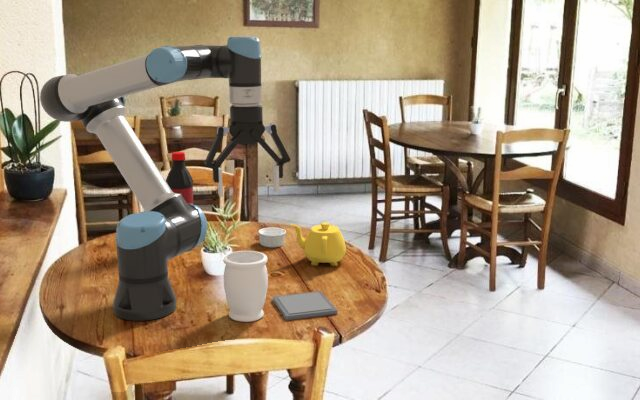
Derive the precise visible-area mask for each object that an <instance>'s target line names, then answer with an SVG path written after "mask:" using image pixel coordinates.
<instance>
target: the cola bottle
mask: <svg viewBox="0 0 640 400" xmlns="http://www.w3.org/2000/svg"><path fill="white" fill-rule="evenodd" d="M171 161H172V165H171V167H170V170H169V171H168V173H167V176H166V178H165V181H166V182H167V184H168V186H169V187H170V189H171V190H172V192H174V193H178V194H181V195H182V197H183V198H184V200H185V201H186V203H187V204H189V203H190V204H193V205H194V180H193V177H192V174H191V173H190V172H189V169H188V168H187V167H186V163H185V161H186V153H185V152H184V151H173V152H172V153H171Z"/></svg>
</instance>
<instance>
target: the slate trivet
mask: <svg viewBox="0 0 640 400" xmlns="http://www.w3.org/2000/svg"><path fill="white" fill-rule="evenodd" d="M272 301H273V303H274V304H275V306H276V307H277V308H278V310H279V312H280V313H281V315H282V316H283V318H284V320H285V321H291V320H300V319H301V320H302V319H308V318H317V317H324V316H331V315H333V316H334V315H338V309H337V308H336V307H335V306H334V304H333V303H332V302H331V301H330V300H329V298H327V296H326V295H325V294H324V293H323V292H322V291H321V290H319V291H310V292H300V293H291V294H284V295H275V296H272Z"/></svg>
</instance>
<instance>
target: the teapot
mask: <svg viewBox="0 0 640 400" xmlns="http://www.w3.org/2000/svg"><path fill="white" fill-rule="evenodd" d="M290 225H291V226H292V227H293V228H294V229H295V231H296V232H295V233H296V240H297V244H298V246H299V248H300V249H302V250H303V253H304V255H305V257H306V258H307V259H308V261H310V262H311V263H310V265H311V266H318V265H319V264H320V263H325V264H326V263H329V265H330V266H332V267H337V266H339V263H338V262H340V261H341V260H342V259H343V258H344V257H345V254H346V252H347V251H346V250H347V247H346V246H347V245H346V242H345V239H344V236H343V234H342V232H341V230H340V228H339V226H337V225H333V224H332V225H331V224H330V223H329V222H320V224H316V225H313V226H312V227H311V228H310V230H309V232H308V233H307V236H306V237H305V238H304V237H303V235H302V229H301V226H299V225H297V224H294V223H290Z"/></svg>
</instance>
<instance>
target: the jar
mask: <svg viewBox="0 0 640 400" xmlns="http://www.w3.org/2000/svg"><path fill="white" fill-rule="evenodd" d="M222 258H223V263H224V265H225V266H224V270H223V288H224V293H225V299H226V303H227V305H228V307H229V309H230V310H229V312H228V316H229V318H230V319H231V320H233V321H235V322H236V321H237V322H243V323H244V322H245V323H246V322H247V323H248V322H256V321H258V320H260V319H262V318H263V317H264V315H265V312H264V310H263V308H264V305H265V303H266V299H267V291H268V285H269V275H268V269H267V265H266V264H267V262H268V256H267V254H265V253H263V252H259V251H258V250H257V251H255V250H237V251H231V252H229V253H226V254H224V256H223V257H222Z"/></svg>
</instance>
